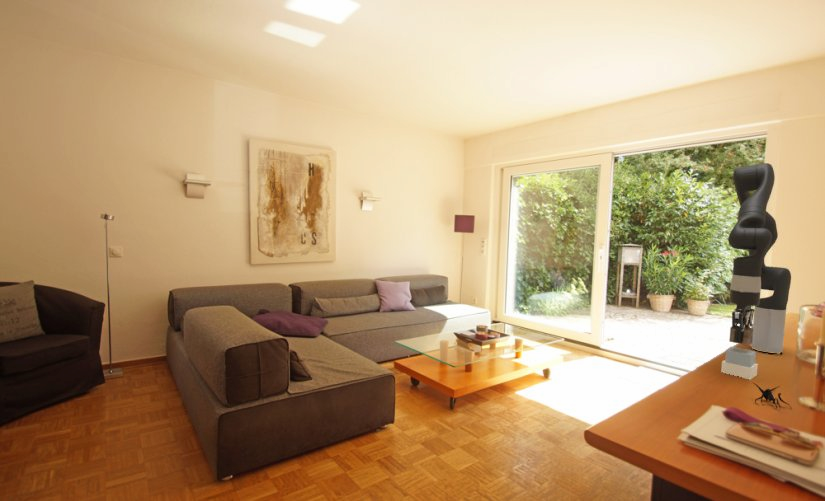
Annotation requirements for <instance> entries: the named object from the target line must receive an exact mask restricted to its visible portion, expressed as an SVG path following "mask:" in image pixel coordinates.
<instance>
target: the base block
mask: <svg viewBox="0 0 825 501" xmlns="http://www.w3.org/2000/svg"><path fill="white" fill-rule="evenodd" d="M758 365H759V364H758V363H756V362H755V364H754V365H753V366H752V367H751V368H749V367H745V366H740V365H736V364H732V363H727V362H725V359H724V360H722V361H721V369H720V373H722V372H723V373H722V374H725V373H726V375H729V374H730V376H733V375H734V377H737V376H739V377H738V378H741V377H742V378H741V379H746V380H748V379H749V380H752V379H753V378H755V377H757V376H758Z"/></svg>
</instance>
